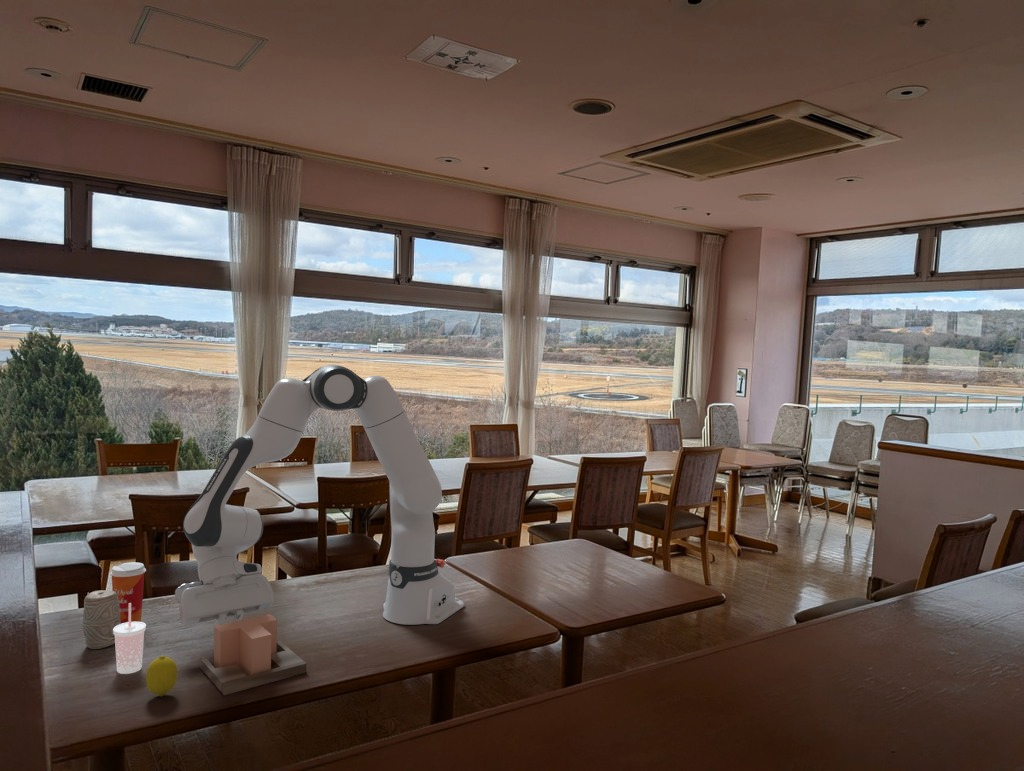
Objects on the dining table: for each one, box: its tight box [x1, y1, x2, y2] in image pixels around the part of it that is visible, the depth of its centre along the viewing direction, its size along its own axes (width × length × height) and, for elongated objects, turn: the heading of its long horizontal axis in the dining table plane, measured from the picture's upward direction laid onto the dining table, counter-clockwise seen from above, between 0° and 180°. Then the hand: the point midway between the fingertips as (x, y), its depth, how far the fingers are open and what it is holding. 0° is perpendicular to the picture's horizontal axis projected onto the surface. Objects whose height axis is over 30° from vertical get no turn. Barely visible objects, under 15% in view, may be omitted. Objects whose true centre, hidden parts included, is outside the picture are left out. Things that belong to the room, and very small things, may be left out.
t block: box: [213, 613, 278, 676], centre depth 153 cm, size 11×12×9 cm
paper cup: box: [109, 561, 147, 624], centre depth 175 cm, size 8×8×14 cm
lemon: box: [145, 655, 178, 697], centre depth 141 cm, size 6×6×8 cm
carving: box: [82, 589, 120, 650], centre depth 162 cm, size 6×8×12 cm
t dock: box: [199, 639, 307, 696], centre depth 153 cm, size 15×17×2 cm
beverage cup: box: [113, 603, 147, 675], centre depth 151 cm, size 6×6×14 cm
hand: (235, 632), depth 161 cm, fingers closed
